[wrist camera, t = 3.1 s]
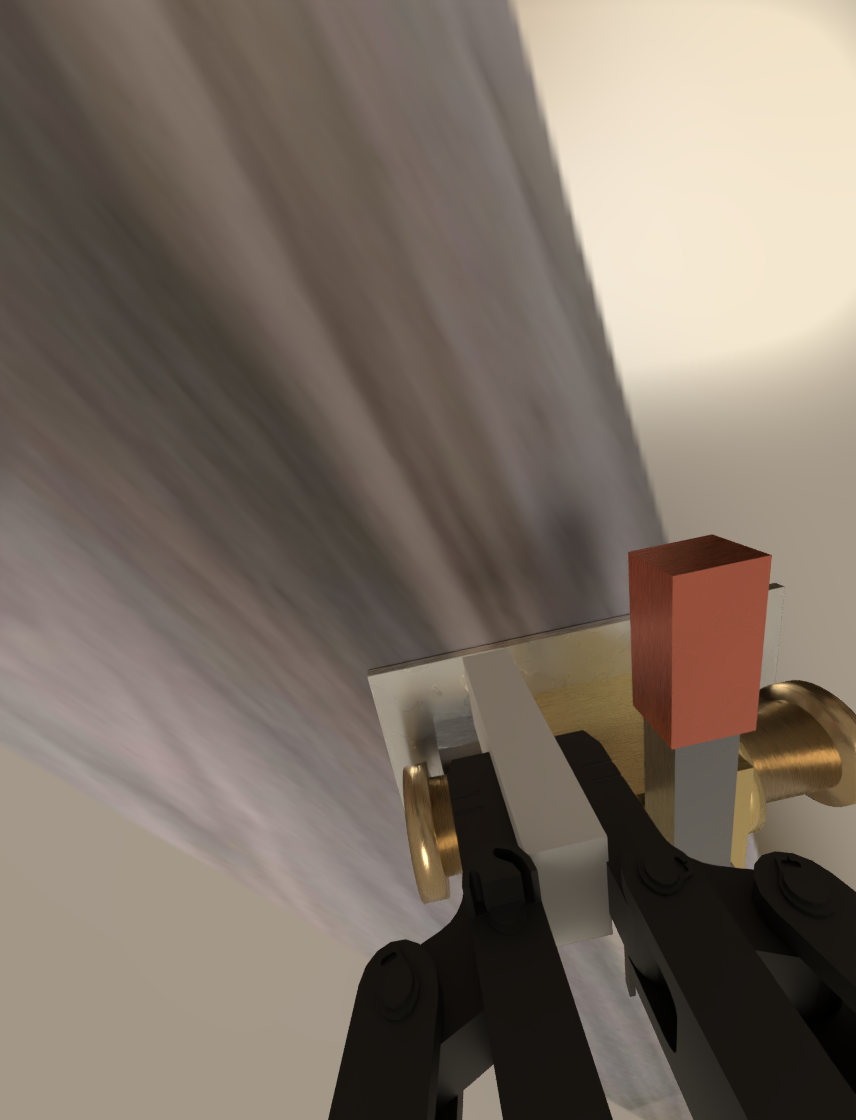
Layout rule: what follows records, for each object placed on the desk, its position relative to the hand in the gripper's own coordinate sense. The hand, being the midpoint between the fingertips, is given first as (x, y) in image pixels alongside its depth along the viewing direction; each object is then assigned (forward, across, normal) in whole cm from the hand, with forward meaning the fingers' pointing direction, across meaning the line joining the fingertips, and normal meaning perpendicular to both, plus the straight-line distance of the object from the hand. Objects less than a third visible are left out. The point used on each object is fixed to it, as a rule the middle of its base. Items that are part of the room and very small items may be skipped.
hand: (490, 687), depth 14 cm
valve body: (+9, +7, -11) cm, 16 cm away
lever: (+1, +7, -5) cm, 8 cm away
